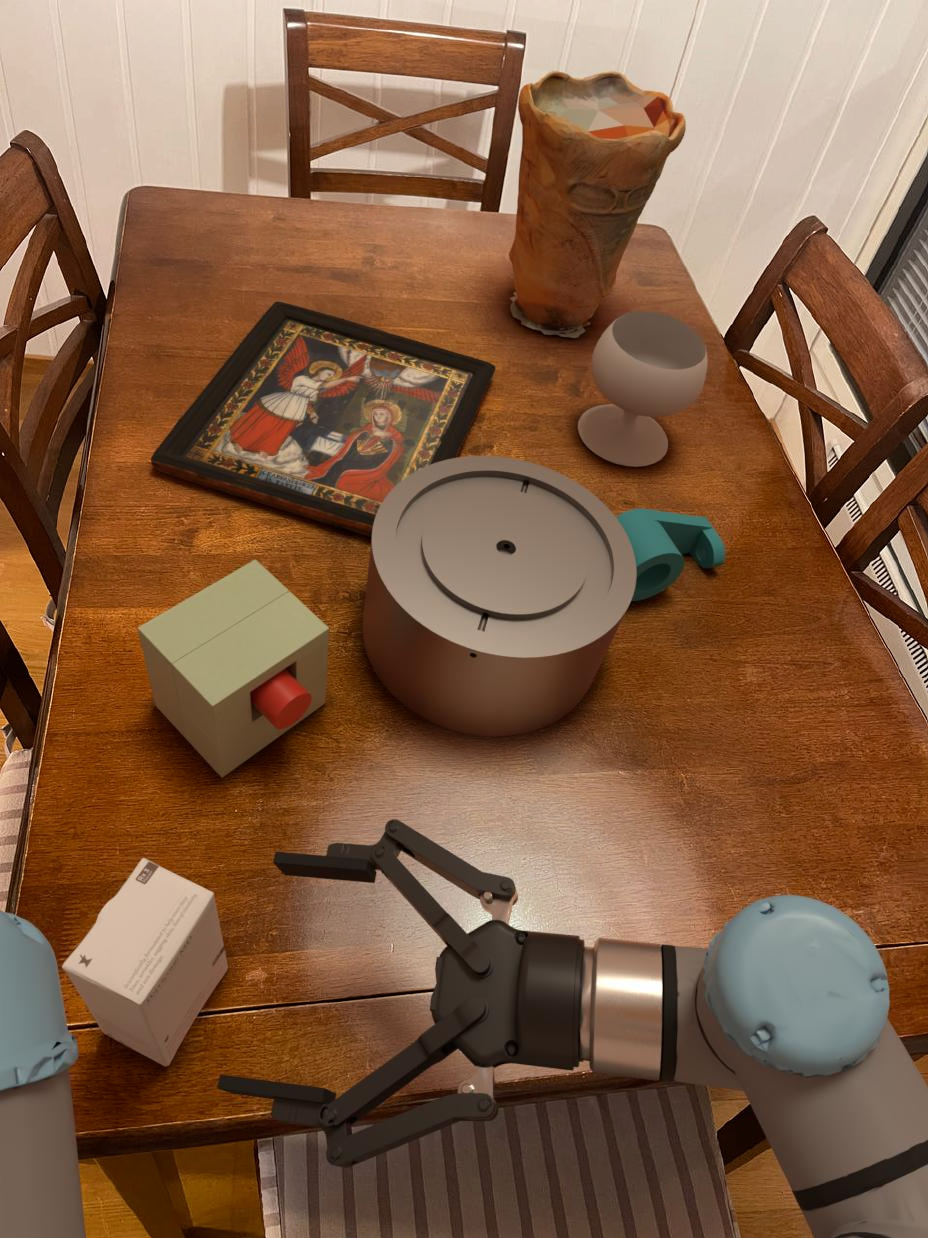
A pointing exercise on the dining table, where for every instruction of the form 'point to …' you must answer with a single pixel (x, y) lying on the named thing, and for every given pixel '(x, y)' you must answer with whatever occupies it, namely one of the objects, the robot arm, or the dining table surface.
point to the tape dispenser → (668, 546)
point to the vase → (582, 190)
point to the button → (281, 700)
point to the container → (493, 593)
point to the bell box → (232, 662)
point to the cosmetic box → (150, 961)
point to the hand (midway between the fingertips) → (254, 966)
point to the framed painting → (324, 416)
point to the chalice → (642, 385)
